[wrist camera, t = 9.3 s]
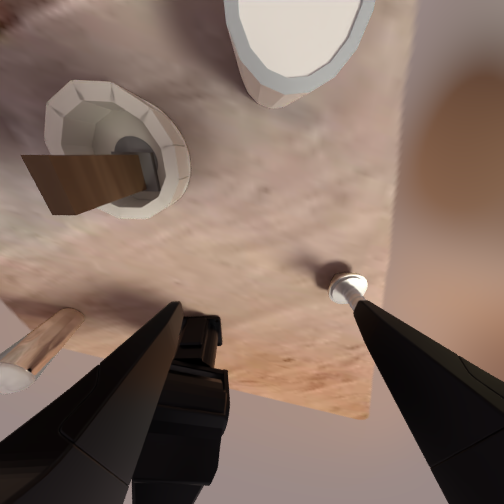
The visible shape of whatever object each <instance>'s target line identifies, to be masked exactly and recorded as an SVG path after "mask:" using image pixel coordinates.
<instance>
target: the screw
mask: <svg viewBox="0 0 504 504" xmlns="http://www.w3.org/2000/svg"><path fill="white" fill-rule="evenodd" d="M366 289H367V281H366V279H365V278H364V277H363V276H362V275H360V274H357V273H348V274H347V273H346V272H344V273H339V274H335V276H334V277H333V279H332V280H331V285H330V286H329V289H328V295H329V297H330V299H331V300H332V301H334V302H335V303H339V304H350V307H351V308H352V309H353V311H354V309H355V307H356V305H357V302H358V301H359V300H365V298H364V296H363V295H364V293H365V292H366Z"/></svg>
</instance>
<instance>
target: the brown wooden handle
mask: <svg viewBox="0 0 504 504" xmlns="http://www.w3.org/2000/svg"><path fill="white" fill-rule="evenodd" d="M111 154H112V155H21V157H22V159H23V161H24V163H25V164H26V166H27V168H28V170H29V172H30V174H31V176H32V178H33V179H34V181H35V183H36V185H37V187H38V189H39V191H40V193H41V195H42V196H43V198H44V200H45V202H46V204H47V206H48V208H49V210H50V211H51V213H52V215H78V214H81V213H83V212H86V211H89V210H92V209H94V208H97V207H100V206H102V205H105V204H108V203H111V202H113V201H116V200H119V199H122V198H124V197H127V196H130V195H132V194H135V193H138V192H141V191H151V192H159V191H161V188H160V183H159V179H158V174H157V169H156V165H155V160H154V155H153V153H149V152H112V151H111Z"/></svg>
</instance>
